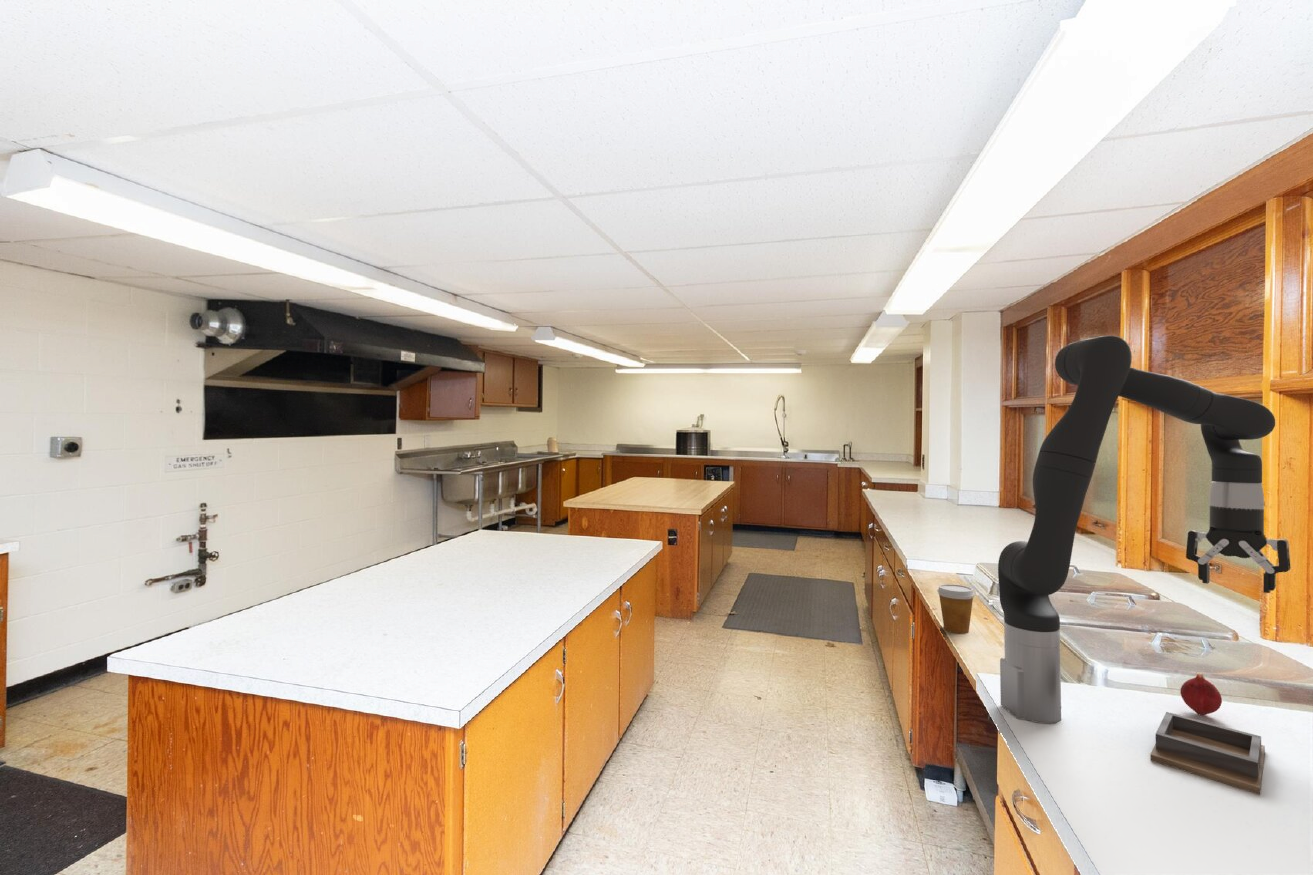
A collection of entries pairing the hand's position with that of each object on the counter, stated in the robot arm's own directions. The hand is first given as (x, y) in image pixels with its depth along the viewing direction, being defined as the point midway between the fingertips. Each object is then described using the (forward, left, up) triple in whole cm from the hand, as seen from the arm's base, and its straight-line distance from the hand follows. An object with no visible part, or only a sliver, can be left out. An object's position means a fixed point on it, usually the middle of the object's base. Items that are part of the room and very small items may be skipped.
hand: (1235, 587), depth 112 cm
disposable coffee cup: (-31, +50, -25) cm, 63 cm away
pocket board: (-20, -16, -25) cm, 36 cm away
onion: (-8, -1, -25) cm, 26 cm away
